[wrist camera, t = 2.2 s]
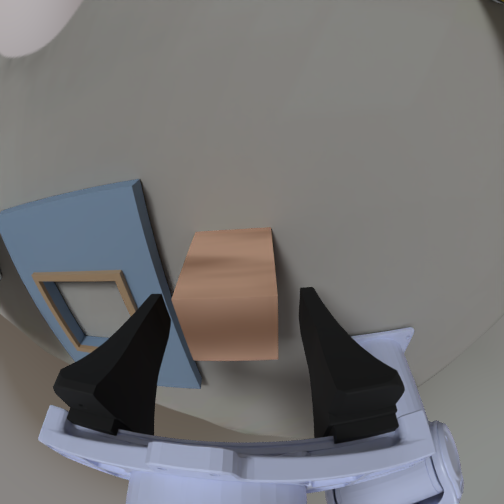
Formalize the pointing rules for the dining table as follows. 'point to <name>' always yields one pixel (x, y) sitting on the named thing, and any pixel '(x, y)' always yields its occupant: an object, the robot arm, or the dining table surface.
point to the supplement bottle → (499, 1)
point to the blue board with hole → (94, 263)
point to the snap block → (229, 296)
